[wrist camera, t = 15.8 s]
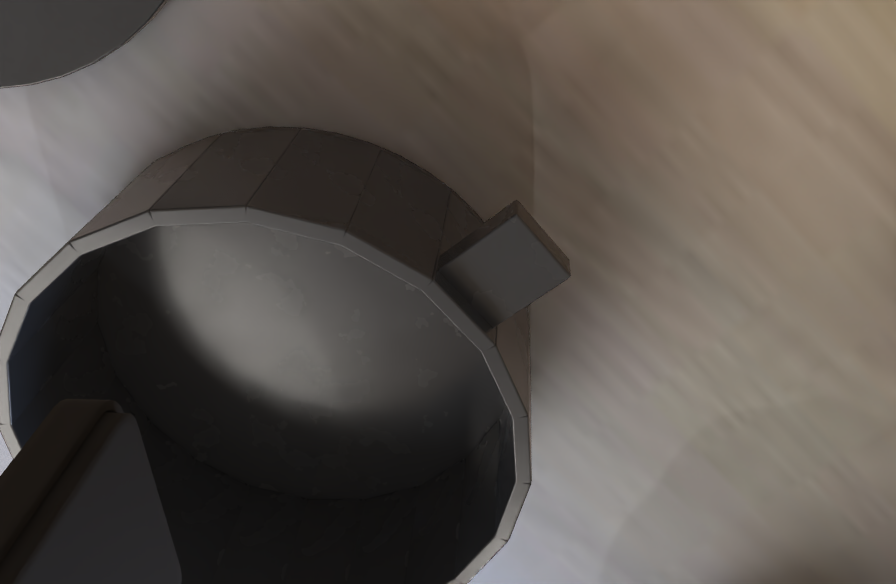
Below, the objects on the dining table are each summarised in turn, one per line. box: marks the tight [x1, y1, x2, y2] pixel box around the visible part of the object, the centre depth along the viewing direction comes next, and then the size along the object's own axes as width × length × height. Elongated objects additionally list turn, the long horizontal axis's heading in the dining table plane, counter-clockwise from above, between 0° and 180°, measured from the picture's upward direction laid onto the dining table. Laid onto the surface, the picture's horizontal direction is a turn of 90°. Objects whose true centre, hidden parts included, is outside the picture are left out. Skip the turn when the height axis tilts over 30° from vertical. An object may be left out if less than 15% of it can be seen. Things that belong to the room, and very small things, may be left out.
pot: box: [0, 127, 571, 584], centre depth 28 cm, size 17×22×6 cm
